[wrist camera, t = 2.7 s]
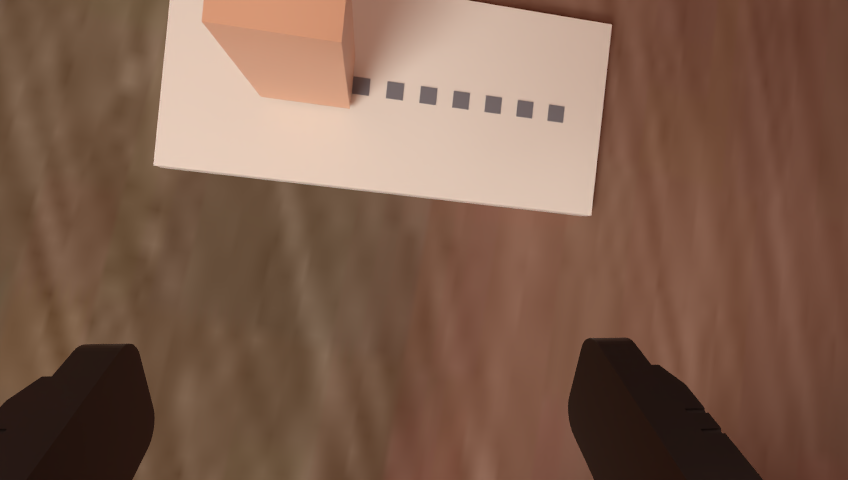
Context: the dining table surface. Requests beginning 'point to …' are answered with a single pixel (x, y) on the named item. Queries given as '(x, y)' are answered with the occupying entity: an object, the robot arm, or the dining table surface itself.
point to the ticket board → (406, 107)
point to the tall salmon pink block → (289, 46)
